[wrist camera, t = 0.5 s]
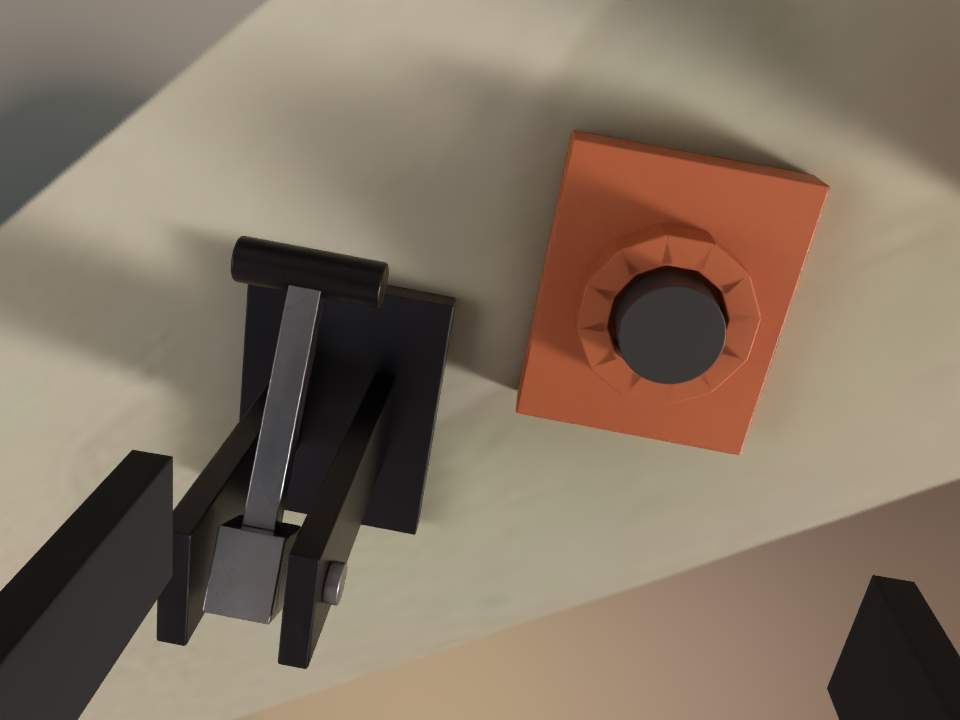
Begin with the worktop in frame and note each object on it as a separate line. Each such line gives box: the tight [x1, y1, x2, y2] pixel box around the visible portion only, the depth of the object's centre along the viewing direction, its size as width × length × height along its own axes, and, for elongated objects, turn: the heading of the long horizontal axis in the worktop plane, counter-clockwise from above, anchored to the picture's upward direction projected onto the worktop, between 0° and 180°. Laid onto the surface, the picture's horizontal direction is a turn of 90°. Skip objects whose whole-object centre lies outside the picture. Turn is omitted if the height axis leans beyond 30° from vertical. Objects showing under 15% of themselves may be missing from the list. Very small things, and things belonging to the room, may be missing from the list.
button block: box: [516, 131, 830, 455], centre depth 35 cm, size 12×10×4 cm
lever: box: [202, 236, 389, 624], centre depth 29 cm, size 12×5×2 cm, turn 170°
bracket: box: [157, 284, 456, 669], centre depth 34 cm, size 12×9×15 cm
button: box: [615, 272, 726, 384], centre depth 33 cm, size 4×4×2 cm
